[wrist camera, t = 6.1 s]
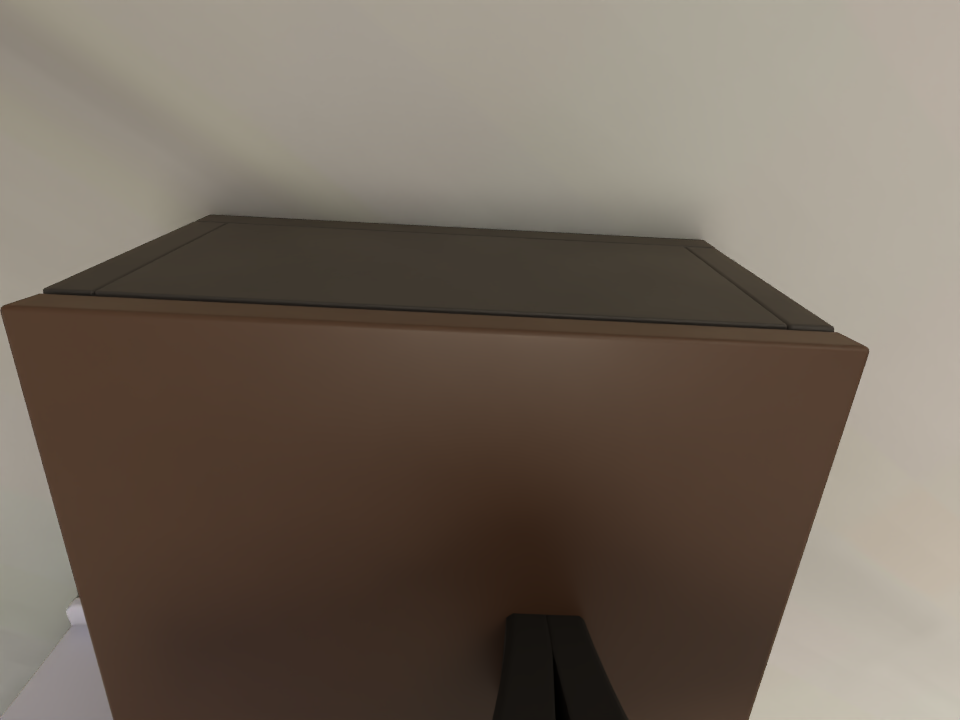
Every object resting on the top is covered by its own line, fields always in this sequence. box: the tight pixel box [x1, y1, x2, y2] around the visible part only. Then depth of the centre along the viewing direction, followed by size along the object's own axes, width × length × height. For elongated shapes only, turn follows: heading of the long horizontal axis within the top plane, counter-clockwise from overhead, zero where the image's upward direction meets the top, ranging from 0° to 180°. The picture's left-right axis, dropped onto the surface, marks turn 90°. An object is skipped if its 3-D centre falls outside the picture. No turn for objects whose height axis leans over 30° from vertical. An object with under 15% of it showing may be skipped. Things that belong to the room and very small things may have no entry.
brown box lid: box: [1, 294, 869, 720], centre depth 11 cm, size 14×13×1 cm
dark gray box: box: [43, 215, 834, 332], centre depth 14 cm, size 14×13×6 cm
